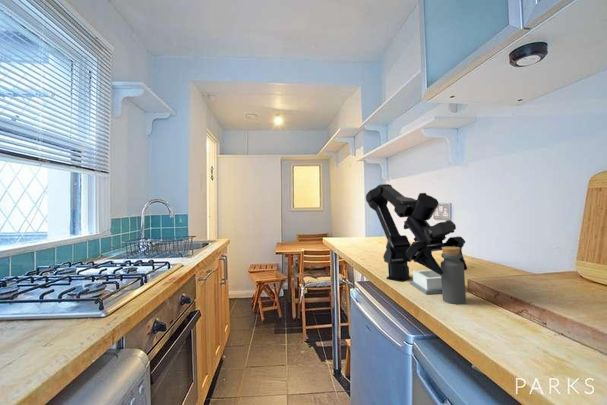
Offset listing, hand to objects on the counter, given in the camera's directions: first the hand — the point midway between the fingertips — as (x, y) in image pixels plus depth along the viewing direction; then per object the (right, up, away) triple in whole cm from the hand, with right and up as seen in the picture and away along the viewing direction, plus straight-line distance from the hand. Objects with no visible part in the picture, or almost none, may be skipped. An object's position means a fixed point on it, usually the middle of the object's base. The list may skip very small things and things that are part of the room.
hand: (454, 271), depth 80 cm
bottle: (0, -8, +1) cm, 9 cm away
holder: (+1, -8, +13) cm, 16 cm away
